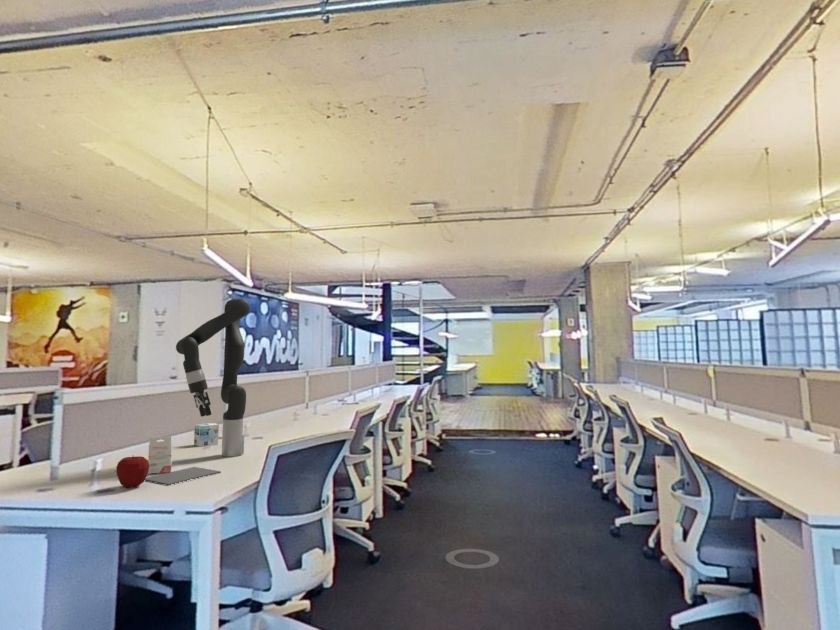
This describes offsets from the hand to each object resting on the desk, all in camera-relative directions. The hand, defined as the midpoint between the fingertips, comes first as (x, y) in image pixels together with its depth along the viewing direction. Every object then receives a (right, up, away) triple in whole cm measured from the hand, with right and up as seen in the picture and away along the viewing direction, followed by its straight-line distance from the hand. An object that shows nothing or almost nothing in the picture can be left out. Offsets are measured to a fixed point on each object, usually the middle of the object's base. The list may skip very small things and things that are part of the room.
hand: (206, 415), depth 238 cm
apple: (-10, -18, -43) cm, 48 cm away
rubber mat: (+1, -19, -26) cm, 32 cm away
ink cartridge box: (-12, -20, -19) cm, 30 cm away
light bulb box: (-17, -24, +42) cm, 51 cm away
